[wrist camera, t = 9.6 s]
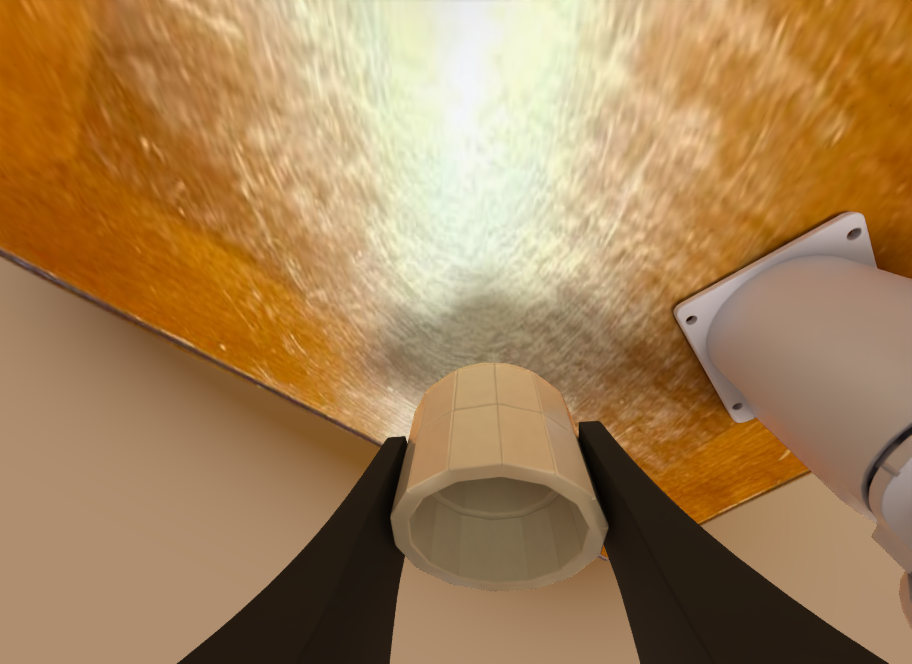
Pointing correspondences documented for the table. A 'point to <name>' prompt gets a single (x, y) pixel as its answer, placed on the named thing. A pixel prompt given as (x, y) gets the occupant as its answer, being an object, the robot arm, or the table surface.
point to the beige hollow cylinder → (496, 484)
